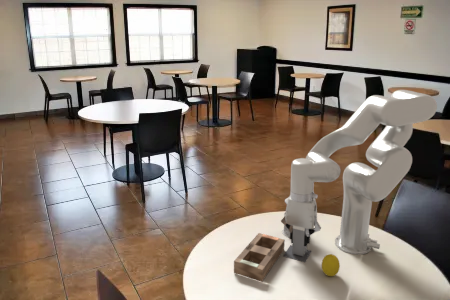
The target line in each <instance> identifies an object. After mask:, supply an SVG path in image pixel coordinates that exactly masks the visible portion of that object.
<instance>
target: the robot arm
mask: <svg viewBox="0 0 450 300" xmlns="http://www.w3.org/2000/svg"><path fill="white" fill-rule="evenodd" d="M437 109H438V104H437V100H436V99H435V97H433V96H431V95H429V94H425V93H421V92H416V91H413V90H409V89H408V90H407V89H397V90H395V91H393V92H392V93H391V95H390V97H389V96H384V95H379V94H373V95H371V96H368V97H367V98H366V99H365V100H364V101H363V102H362V103H361V105H360V106H359V107H358V108H357V109H356V110H355V112H354V113H353V114H352V115H351V116H350V117H349V118H348V119H347V120H346V122H345V123H344V124H343V125H342V126H341V127H340V128H338V129H335V130H334V131H332V132H330V133H329V134H327V135H325V136H323V137H322V138H320V140H318V141H317V142H316V144H314V146H313V147H312V148H311V149H310V150H309V151H308V153H307V154H306V156H305V158H304V157H300V158H296V159H293V160H292V161H291V166H290V193H289V196H288V197H289V198H288V197H287V198H288V202H287V204H286V208H285V212H286V215H285V216H284V215H283V217H282V219H281V220H280V222H281V223H282V224H283V226H284V225H286V227H287V228H288V230H289V232H290V238H289V240H290V244H293V225H294V226H298V227H303V228H305V232H306V235H305V238H304V246H307V247H308V244H310V243H311V235H313V234H315V233H317V232H319V231H321V229H322V227H321V225H320V223H319V222H318V210H317V209H318V206H317V202H316V199H318V194H316V193H315V191H314V186H315V184H314V183H315V182H316V183H317V182H318V183H332V182H334V181H336V180H337V179H338V178H339V177H340V175H341V166H340V165H339V164H338V163H337V162H336V161H335V160H333V159H332V158H330V157H331V155H333V154H334V153H335V152H337V151H338V150H340V149H343V148H346V147H353V146H358V145H363V144H364V143H365V141H366V140H367V139H368V138H369V137H370V136H371V134H372V133H374V131H375V130H376V129H377V128H378V126H380V124H381V125H383V126H385V127H384V128H383V130H382V131H381V132H380V133H379V134H378V136H377V137H376V138H375V139H374V141H372V142H371V144H370V145H369V146H368V148H367V150H366V151H365V157H366V160H367V161H368V162H369V163H370V164H372V165H373V166H375V167H377V169H375V168H374V167H373V168H372V167H371V166H369V165H368V164H366V163H364V162H358V161H357V162H352V163H349V164H348V165H347V166H346V167H345V168H344V171H343V172H342V173H343V174H342V184H343V185H342V186H343V201H342V211H341V219H340V220H341V222H340V228H339V229H340V230H339V235H337V236H336V237H335V238H334V245H335V246H336V247H337V249H339V250H340V251H342V252H344V253H347V254H351V255H365V254H368V253H369V252H371V250H372V248H373V249H376V250H380V247H381V244H380V243H378V240H375V239H371V237H370V233H369V229H370V220H371V213H372V205H373V202H376V203H377V202H380V201H382V200H384V199H385V198H387V196H389V195H390V194H391V192H392V191H393V190H394V189H395V187H397V186H398V184H399V183H400V182H401V181H402V179H403V178H404V177H406V175H407V174H408V172H410V169H411V166H412V164H413V156H412V153H411V151H409V150H408V149H407V148H406V147H404V146H405V145H406V144H407V143H408V141H409V140H410V139H411V137H412V135H413V130H414V128H413V127H414V125H413V124H417V123H418V124H419V123H423V122H427V121H429V119H431V118H432V117H433V116H435V114H436V112H437Z"/></svg>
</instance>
